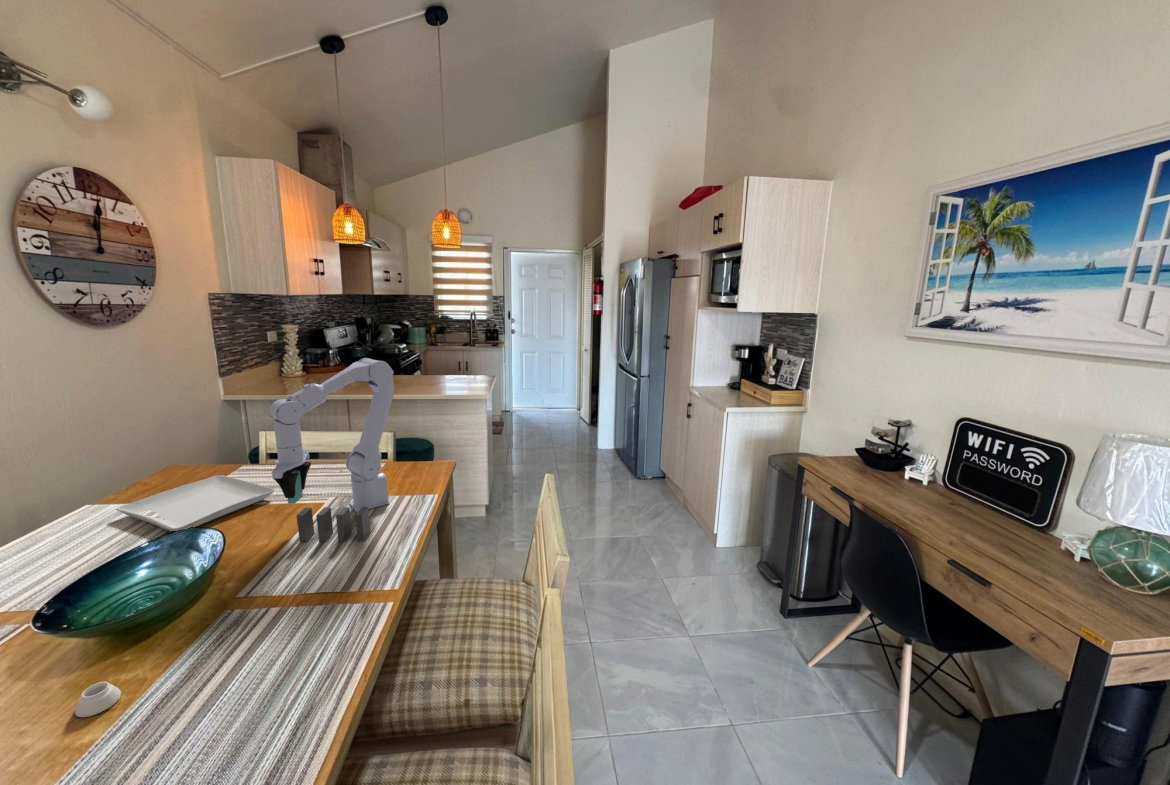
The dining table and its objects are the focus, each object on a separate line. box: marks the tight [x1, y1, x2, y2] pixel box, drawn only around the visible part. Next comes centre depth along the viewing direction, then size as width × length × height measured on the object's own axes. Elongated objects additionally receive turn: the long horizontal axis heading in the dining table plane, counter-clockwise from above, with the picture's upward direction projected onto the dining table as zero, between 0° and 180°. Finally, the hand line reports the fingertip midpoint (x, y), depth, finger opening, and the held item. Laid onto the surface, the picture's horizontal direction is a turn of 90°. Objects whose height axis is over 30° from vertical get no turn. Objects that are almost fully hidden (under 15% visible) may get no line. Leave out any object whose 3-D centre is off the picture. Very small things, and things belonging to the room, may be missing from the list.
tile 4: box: [296, 507, 315, 543], centre depth 123 cm, size 2×4×8 cm, turn 4°
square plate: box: [115, 474, 276, 532], centre depth 139 cm, size 27×27×4 cm
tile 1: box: [354, 507, 371, 542], centre depth 124 cm, size 2×4×8 cm, turn 4°
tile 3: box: [316, 506, 334, 543], centre depth 123 cm, size 2×4×8 cm, turn 4°
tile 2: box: [335, 506, 353, 543], centre depth 124 cm, size 2×4×8 cm, turn 4°
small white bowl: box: [74, 681, 122, 718], centre depth 74 cm, size 5×3×5 cm
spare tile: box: [287, 471, 304, 505], centre depth 127 cm, size 2×4×8 cm, turn 4°
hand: (295, 493), depth 127 cm, fingers closed on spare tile, 4 cm apart
